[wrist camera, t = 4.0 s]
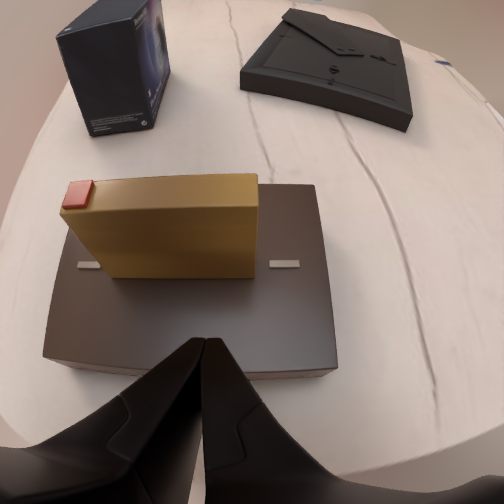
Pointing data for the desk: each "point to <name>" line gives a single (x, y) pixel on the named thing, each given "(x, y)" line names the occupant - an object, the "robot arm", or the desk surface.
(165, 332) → the plate
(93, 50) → the small box
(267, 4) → the desk surface
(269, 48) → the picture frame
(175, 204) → the yellow rectangular slab
